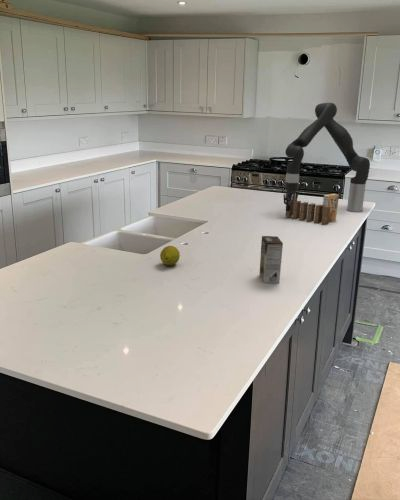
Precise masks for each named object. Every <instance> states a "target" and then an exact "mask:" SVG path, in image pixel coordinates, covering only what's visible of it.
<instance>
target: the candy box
mask: <svg viewBox="0 0 400 500" xmlns="http://www.w3.org/2000/svg"><path fill="white" fill-rule="evenodd" d="M339 198H340V195H339V194H336V193H330V194H329V193H328V194H324V195H323V199H322V200H323V201H322V205H323V207H325V206H331V207H330V216H329V223H331V222H336V221H337V214H338V207H339ZM322 215H323V210H322ZM321 223H322V220H321Z"/></svg>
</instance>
